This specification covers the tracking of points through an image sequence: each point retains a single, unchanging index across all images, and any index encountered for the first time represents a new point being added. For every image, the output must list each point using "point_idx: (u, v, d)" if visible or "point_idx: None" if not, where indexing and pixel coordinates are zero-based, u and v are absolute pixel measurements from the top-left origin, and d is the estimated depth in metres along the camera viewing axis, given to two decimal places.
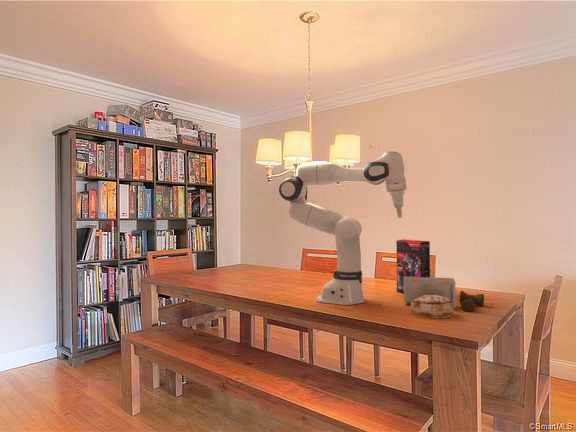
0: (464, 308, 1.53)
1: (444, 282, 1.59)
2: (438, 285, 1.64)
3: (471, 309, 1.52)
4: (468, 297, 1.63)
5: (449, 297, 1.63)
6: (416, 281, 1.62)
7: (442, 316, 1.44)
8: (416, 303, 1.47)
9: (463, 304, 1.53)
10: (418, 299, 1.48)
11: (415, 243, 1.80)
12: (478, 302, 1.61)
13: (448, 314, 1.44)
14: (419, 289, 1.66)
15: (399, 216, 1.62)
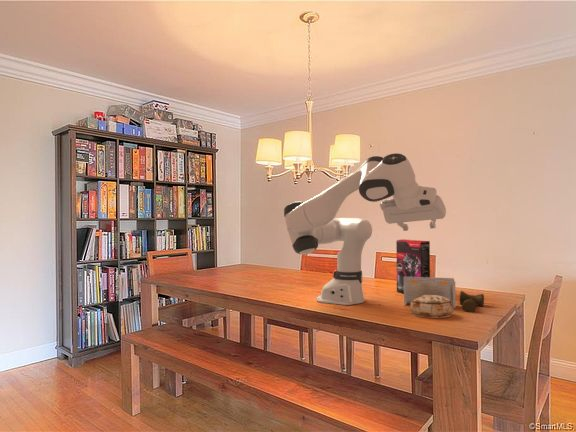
0: (465, 308, 1.53)
1: (444, 282, 1.59)
2: (438, 285, 1.64)
3: (472, 309, 1.51)
4: (468, 297, 1.63)
5: (449, 297, 1.63)
6: (416, 281, 1.62)
7: (441, 316, 1.44)
8: (415, 303, 1.47)
9: (464, 304, 1.53)
10: (418, 299, 1.48)
11: (415, 243, 1.80)
12: (478, 302, 1.60)
13: (448, 314, 1.44)
14: (419, 289, 1.66)
15: (435, 226, 1.26)
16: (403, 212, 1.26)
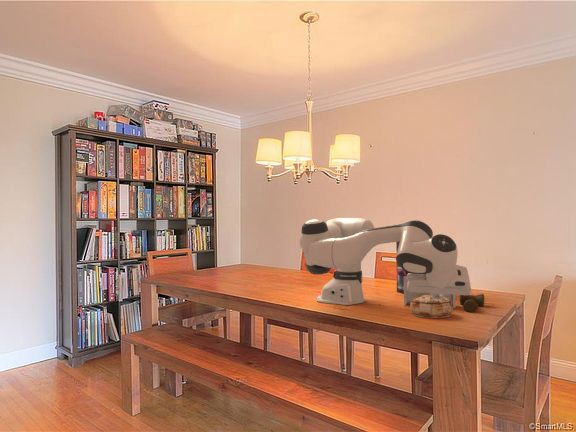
0: (466, 308, 1.52)
1: None
2: None
3: (473, 309, 1.51)
4: (468, 297, 1.63)
5: (449, 297, 1.63)
6: None
7: (441, 316, 1.44)
8: (415, 303, 1.47)
9: (465, 304, 1.52)
10: (417, 299, 1.48)
11: None
12: (479, 302, 1.60)
13: (447, 314, 1.44)
14: None
15: None
16: (430, 285, 1.25)
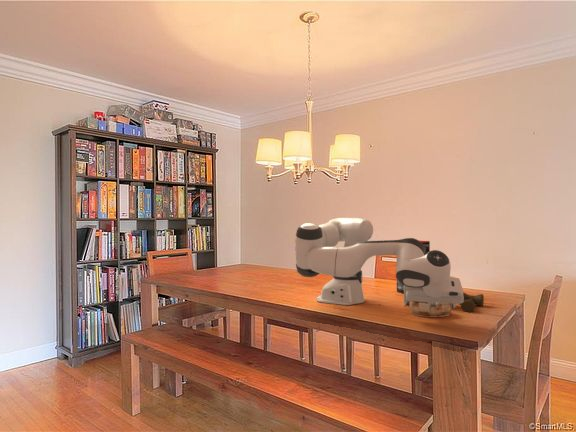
0: (464, 308, 1.53)
1: None
2: None
3: (471, 309, 1.51)
4: (468, 297, 1.63)
5: None
6: None
7: (440, 315, 1.45)
8: (414, 302, 1.49)
9: (463, 304, 1.53)
10: None
11: None
12: (478, 302, 1.60)
13: (446, 313, 1.46)
14: None
15: None
16: (427, 295, 1.38)
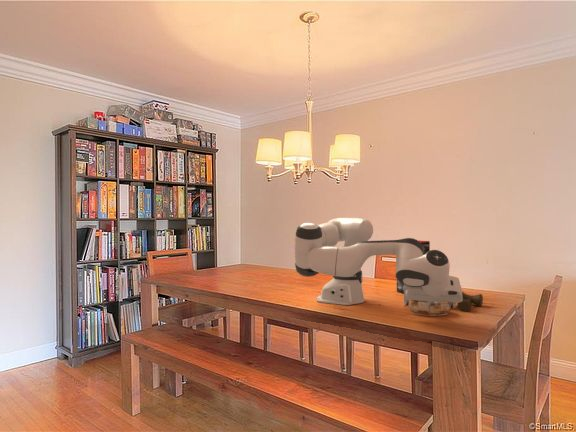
0: (460, 308, 1.53)
1: None
2: None
3: (467, 309, 1.52)
4: (466, 297, 1.63)
5: None
6: None
7: (439, 314, 1.47)
8: (414, 301, 1.50)
9: (459, 304, 1.54)
10: None
11: None
12: (476, 302, 1.60)
13: (445, 312, 1.47)
14: None
15: (436, 303, 1.45)
16: (426, 294, 1.40)
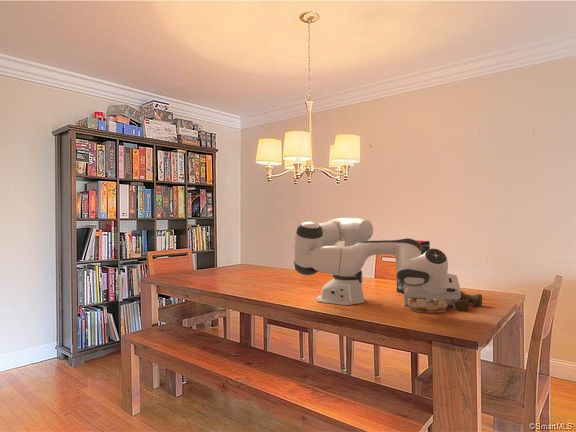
0: (458, 307, 1.54)
1: None
2: None
3: (464, 309, 1.52)
4: (465, 297, 1.63)
5: None
6: None
7: (437, 311, 1.52)
8: (412, 298, 1.55)
9: (457, 303, 1.54)
10: None
11: None
12: (475, 302, 1.60)
13: (443, 309, 1.52)
14: None
15: (435, 301, 1.50)
16: (425, 291, 1.44)
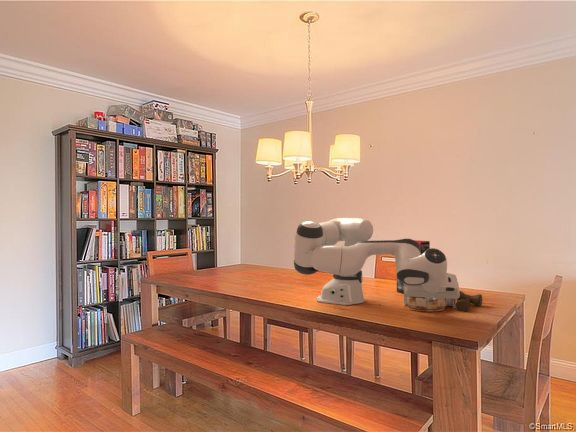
0: (458, 308, 1.54)
1: None
2: None
3: (465, 309, 1.52)
4: (466, 297, 1.63)
5: None
6: None
7: (436, 310, 1.53)
8: (412, 297, 1.56)
9: (457, 304, 1.54)
10: None
11: None
12: (475, 302, 1.60)
13: (442, 308, 1.54)
14: None
15: (434, 300, 1.51)
16: (425, 291, 1.46)
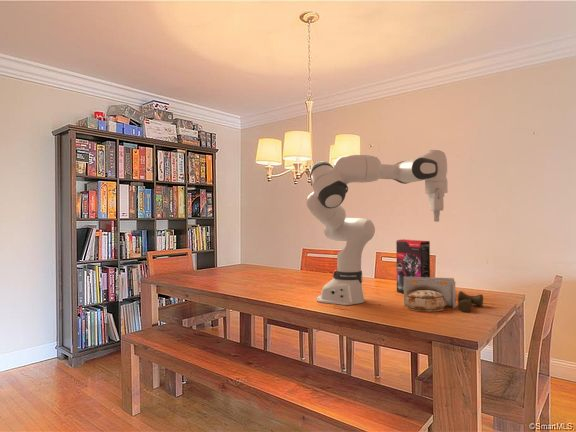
0: (461, 308, 1.53)
1: (444, 282, 1.59)
2: (438, 285, 1.64)
3: (468, 309, 1.51)
4: (467, 297, 1.62)
5: (449, 297, 1.63)
6: (416, 281, 1.62)
7: (435, 310, 1.53)
8: (411, 297, 1.56)
9: (460, 304, 1.53)
10: (413, 294, 1.57)
11: (415, 243, 1.80)
12: (476, 303, 1.59)
13: (441, 308, 1.54)
14: (419, 289, 1.66)
15: None
16: None
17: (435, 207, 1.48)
